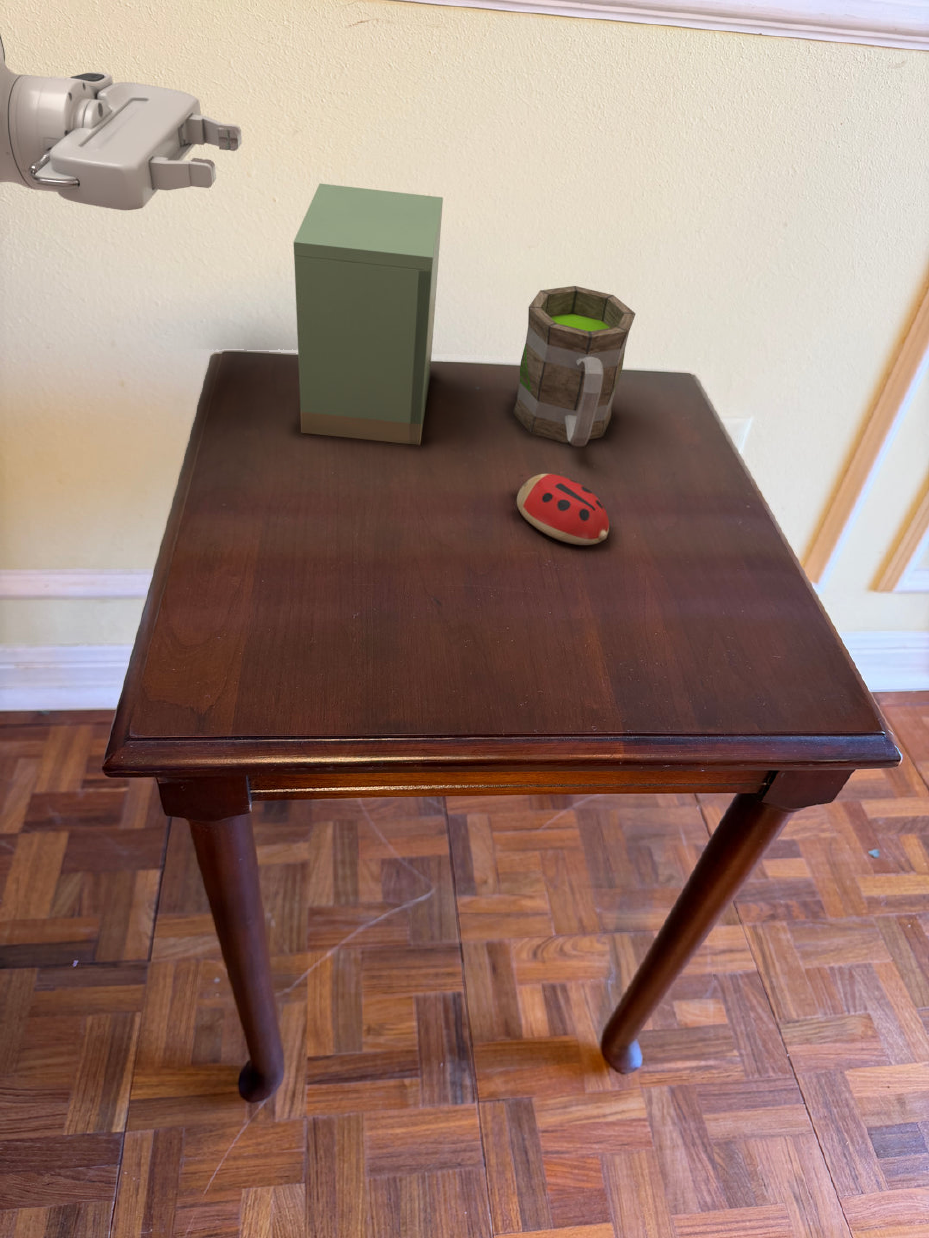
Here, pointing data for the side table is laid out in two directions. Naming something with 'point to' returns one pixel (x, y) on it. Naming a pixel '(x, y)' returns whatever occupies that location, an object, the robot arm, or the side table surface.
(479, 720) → the side table surface
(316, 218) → the cubby
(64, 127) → the robot arm
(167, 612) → the side table surface
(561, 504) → the ladybug figurine
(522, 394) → the mug
